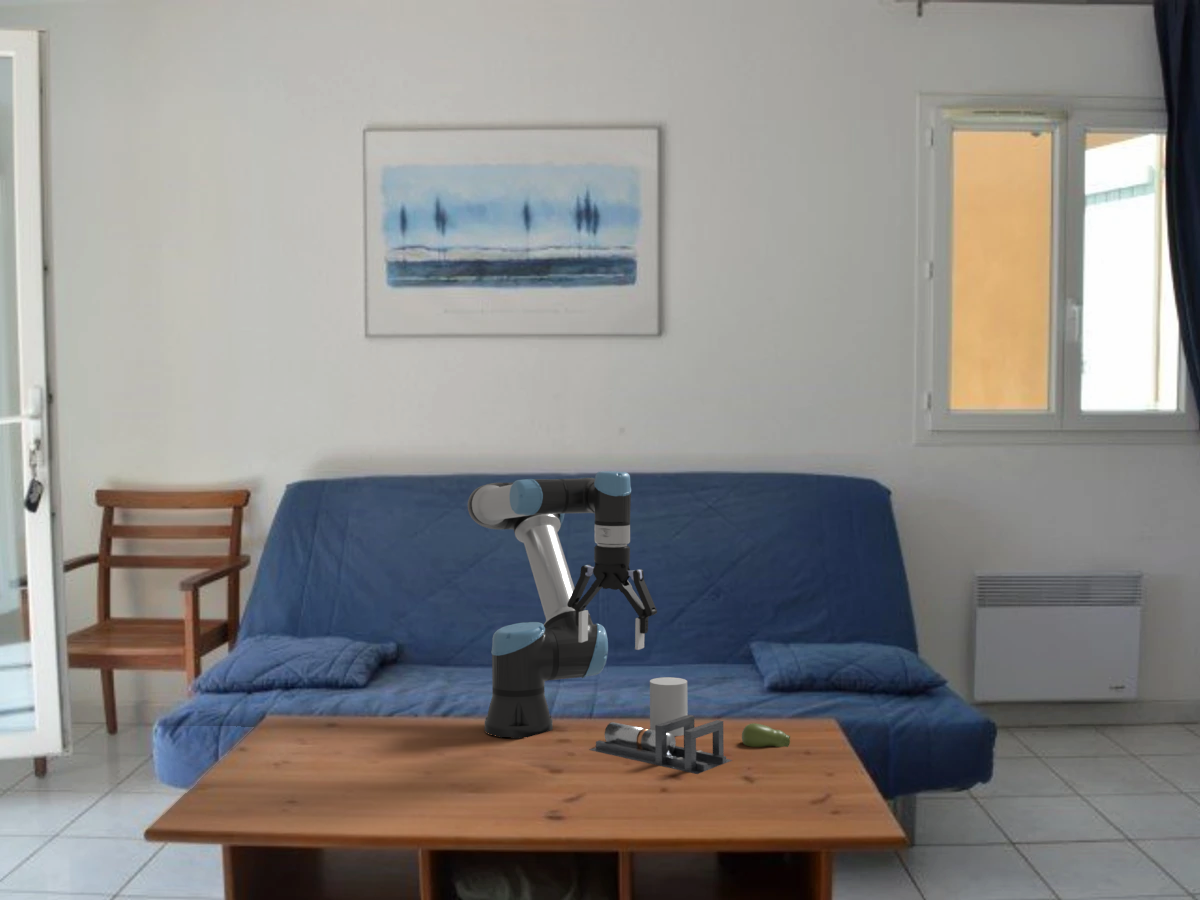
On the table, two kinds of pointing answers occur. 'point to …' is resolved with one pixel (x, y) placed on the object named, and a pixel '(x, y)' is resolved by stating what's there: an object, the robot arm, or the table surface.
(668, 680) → the white cylinder
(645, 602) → the robot arm
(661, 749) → the collar rail
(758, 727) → the pear
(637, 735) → the tube
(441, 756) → the table surface
